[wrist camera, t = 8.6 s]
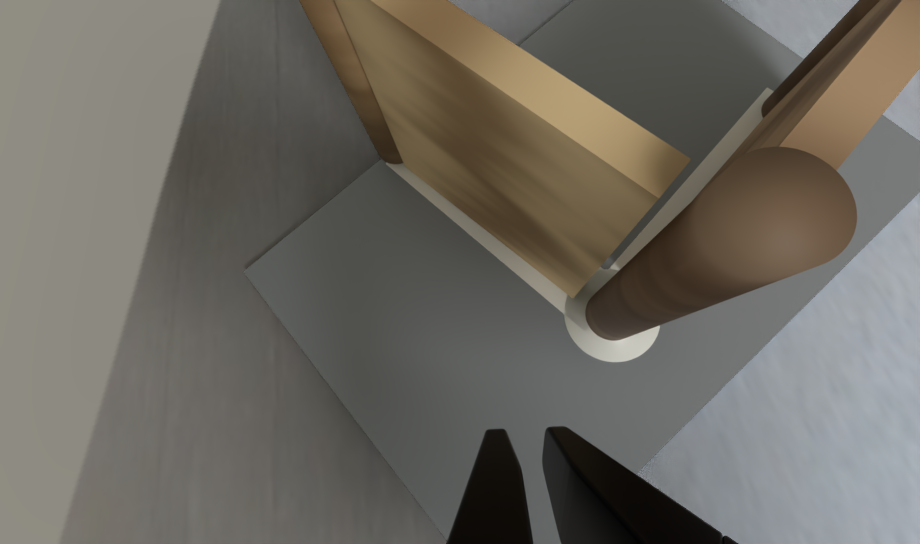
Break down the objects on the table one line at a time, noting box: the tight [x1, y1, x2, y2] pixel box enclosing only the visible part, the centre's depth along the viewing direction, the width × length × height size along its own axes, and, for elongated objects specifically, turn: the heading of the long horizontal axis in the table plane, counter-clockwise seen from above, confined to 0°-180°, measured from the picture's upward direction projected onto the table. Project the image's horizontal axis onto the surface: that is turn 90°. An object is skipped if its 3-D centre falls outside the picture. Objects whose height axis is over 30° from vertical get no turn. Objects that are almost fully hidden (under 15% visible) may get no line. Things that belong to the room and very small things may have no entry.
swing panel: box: [299, 0, 691, 298], centre depth 14 cm, size 11×2×10 cm, turn 49°
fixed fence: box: [585, 0, 920, 341], centre depth 13 cm, size 13×2×11 cm, turn 138°
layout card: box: [243, 0, 920, 544], centre depth 18 cm, size 16×24×1 cm, turn 132°
